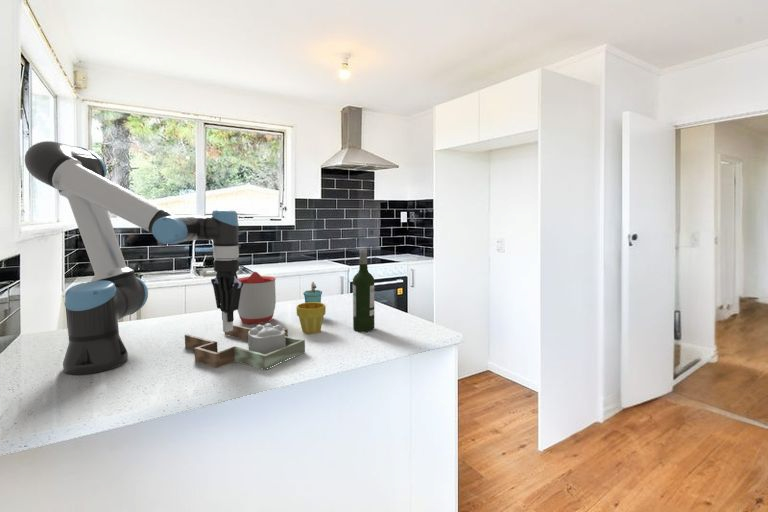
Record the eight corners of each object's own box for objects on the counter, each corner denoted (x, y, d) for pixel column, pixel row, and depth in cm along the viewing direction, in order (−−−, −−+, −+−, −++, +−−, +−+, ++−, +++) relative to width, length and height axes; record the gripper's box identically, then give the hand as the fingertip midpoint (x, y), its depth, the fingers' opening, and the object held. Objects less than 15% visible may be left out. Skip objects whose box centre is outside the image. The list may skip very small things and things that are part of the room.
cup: (325, 321, 160) (325, 284, 159) (306, 322, 158) (305, 285, 156) (320, 312, 173) (319, 278, 172) (302, 314, 171) (301, 279, 169)
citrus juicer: (230, 318, 164) (227, 270, 162) (273, 314, 171) (272, 267, 169) (233, 328, 150) (230, 276, 148) (280, 323, 157) (278, 273, 155)
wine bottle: (377, 330, 147) (377, 249, 144) (357, 333, 144) (356, 250, 141) (370, 325, 154) (369, 247, 151) (350, 327, 151) (349, 248, 148)
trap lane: (167, 352, 125) (166, 340, 124) (240, 329, 149) (240, 319, 148) (248, 377, 106) (247, 363, 106) (317, 346, 130) (317, 335, 129)
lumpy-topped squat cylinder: (253, 363, 116) (252, 334, 115) (245, 349, 128) (244, 323, 127) (289, 356, 121) (288, 329, 120) (277, 344, 133) (277, 319, 132)
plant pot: (319, 336, 141) (319, 309, 140) (292, 334, 143) (291, 307, 142) (329, 328, 151) (329, 302, 150) (304, 326, 153) (303, 301, 152)
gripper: (249, 259, 127) (251, 331, 130) (223, 256, 134) (224, 324, 137) (229, 261, 121) (231, 337, 124) (202, 258, 128) (205, 330, 130)
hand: (228, 330), depth 130 cm, fingers closed
